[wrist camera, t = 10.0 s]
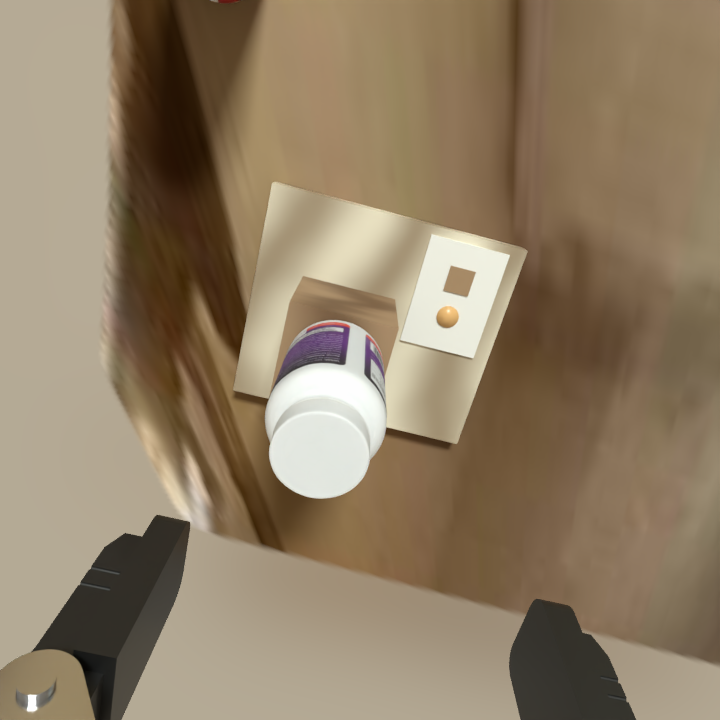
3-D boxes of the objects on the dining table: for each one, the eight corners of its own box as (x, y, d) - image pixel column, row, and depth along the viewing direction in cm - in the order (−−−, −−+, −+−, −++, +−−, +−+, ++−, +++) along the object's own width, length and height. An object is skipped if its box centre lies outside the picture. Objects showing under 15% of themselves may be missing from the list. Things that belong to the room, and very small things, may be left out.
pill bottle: (271, 383, 31) (229, 481, 22) (311, 300, 30) (283, 371, 21) (357, 423, 32) (350, 533, 23) (401, 344, 30) (413, 430, 21)
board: (522, 247, 35) (527, 250, 34) (454, 435, 40) (456, 444, 39) (275, 181, 34) (272, 182, 33) (237, 383, 39) (232, 390, 38)
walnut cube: (395, 299, 36) (398, 328, 30) (371, 382, 38) (370, 424, 32) (303, 276, 35) (289, 301, 30) (284, 361, 37) (268, 400, 32)
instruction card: (509, 254, 34) (510, 255, 34) (472, 357, 37) (473, 358, 37) (431, 234, 34) (431, 234, 34) (399, 339, 37) (400, 340, 36)
